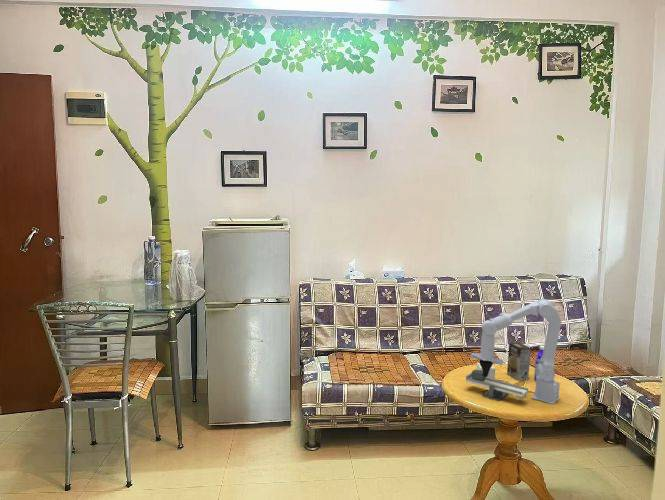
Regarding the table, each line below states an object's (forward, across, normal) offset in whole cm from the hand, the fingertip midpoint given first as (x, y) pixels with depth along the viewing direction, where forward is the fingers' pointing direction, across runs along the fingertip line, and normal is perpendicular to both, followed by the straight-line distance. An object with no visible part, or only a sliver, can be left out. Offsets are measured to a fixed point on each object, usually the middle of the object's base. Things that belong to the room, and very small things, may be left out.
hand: (485, 376), depth 240 cm
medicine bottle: (+8, -7, +15) cm, 18 cm away
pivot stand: (+7, +5, 0) cm, 9 cm away
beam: (+5, +5, 0) cm, 8 cm away
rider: (+2, -3, 0) cm, 4 cm away
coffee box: (+8, +3, +30) cm, 31 cm away
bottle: (+8, +14, +32) cm, 36 cm away
